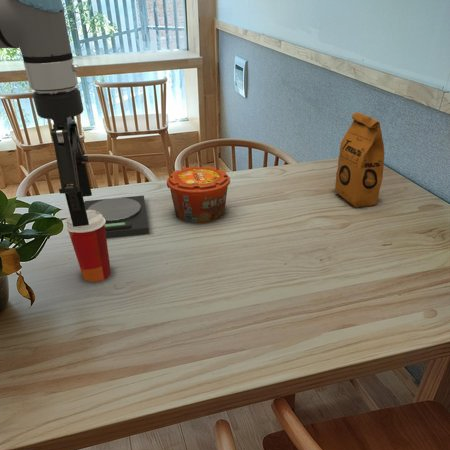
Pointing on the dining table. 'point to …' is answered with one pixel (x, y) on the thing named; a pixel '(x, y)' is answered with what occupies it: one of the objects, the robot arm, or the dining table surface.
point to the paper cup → (91, 247)
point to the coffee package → (361, 162)
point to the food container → (199, 193)
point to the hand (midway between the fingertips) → (83, 209)
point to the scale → (122, 215)
